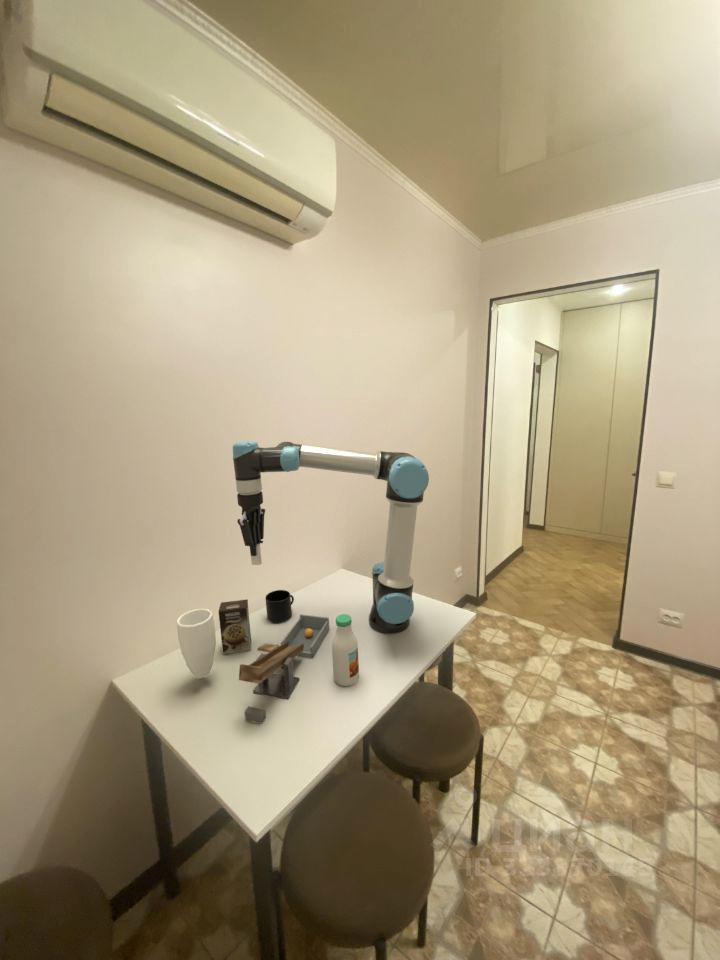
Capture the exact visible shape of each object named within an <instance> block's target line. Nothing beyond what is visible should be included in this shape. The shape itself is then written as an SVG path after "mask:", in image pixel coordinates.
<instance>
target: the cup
mask: <svg viewBox="0 0 720 960" xmlns="http://www.w3.org/2000/svg"><path fill="white" fill-rule="evenodd" d="M176 629H177V638H178V642H179V648H180V652H181V655H182V657H183V660H184V663H185V665H186V667H187V668H188V670H189V672H190V674H192V676H193V677H194V678H196V679H203V678H205V677H207V676H208V675H210V673H211V670H212V667H213V664H214V660H215V653H216V645H217V639H216V626H215V620H214V615H213V612H212V610H209V609H208V608H195V609H191V610H189V611H186V612H184V613H182V614H181V615H180V616H179V617H178V618H177V620H176Z"/></svg>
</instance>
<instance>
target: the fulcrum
mask: <svg viewBox="0 0 720 960" xmlns="http://www.w3.org/2000/svg"><path fill="white" fill-rule="evenodd" d="M266 654H267V653H260V655H259V656H258V657H257V658H256V660H258V659H259V658H261V657H262V656H264V655H266ZM293 659H294V658H293ZM293 659H292V658H289V657H288V658H287V660H286V661H285V663H284V664H283V665H284V669H283V674H279V673H273V674H272V675H271V676H269V677H268V678H267V679H265V680H264V681H263V682H261V683H260V684H258V683H257V685H256V686H255V687H254V689H252V693H253V694H254V695H261V696H265V697H271V698H277V699H282V700H289V699H290V697H291V695H292V694H293V692H294V690H295V689H296V687H297V685H298V683H299V681H300V677H299V676H295V674H294V662H293V661H294V660H293Z"/></svg>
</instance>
